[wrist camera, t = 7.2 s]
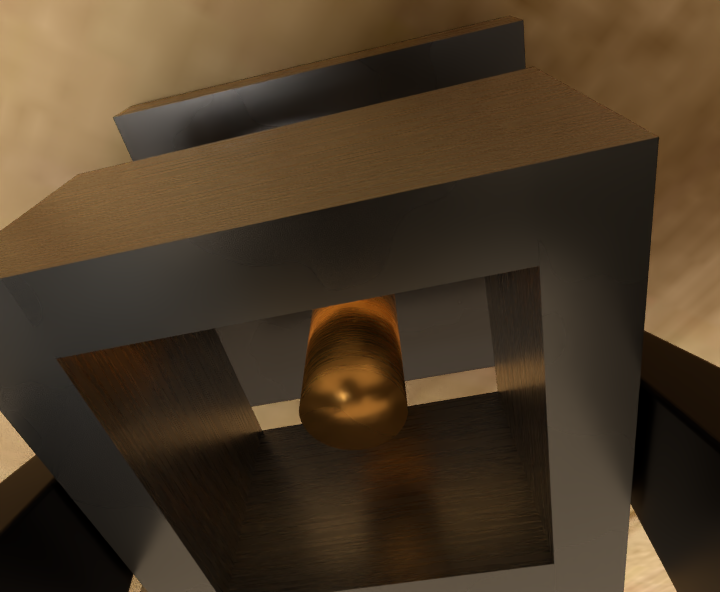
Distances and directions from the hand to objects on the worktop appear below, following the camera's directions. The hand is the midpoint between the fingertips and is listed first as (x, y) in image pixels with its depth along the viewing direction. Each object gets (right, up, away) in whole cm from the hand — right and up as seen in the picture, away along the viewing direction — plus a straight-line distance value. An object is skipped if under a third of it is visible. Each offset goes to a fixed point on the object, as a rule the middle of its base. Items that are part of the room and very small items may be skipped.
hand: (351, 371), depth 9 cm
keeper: (0, +3, +4) cm, 5 cm away
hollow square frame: (0, +1, +1) cm, 1 cm away
